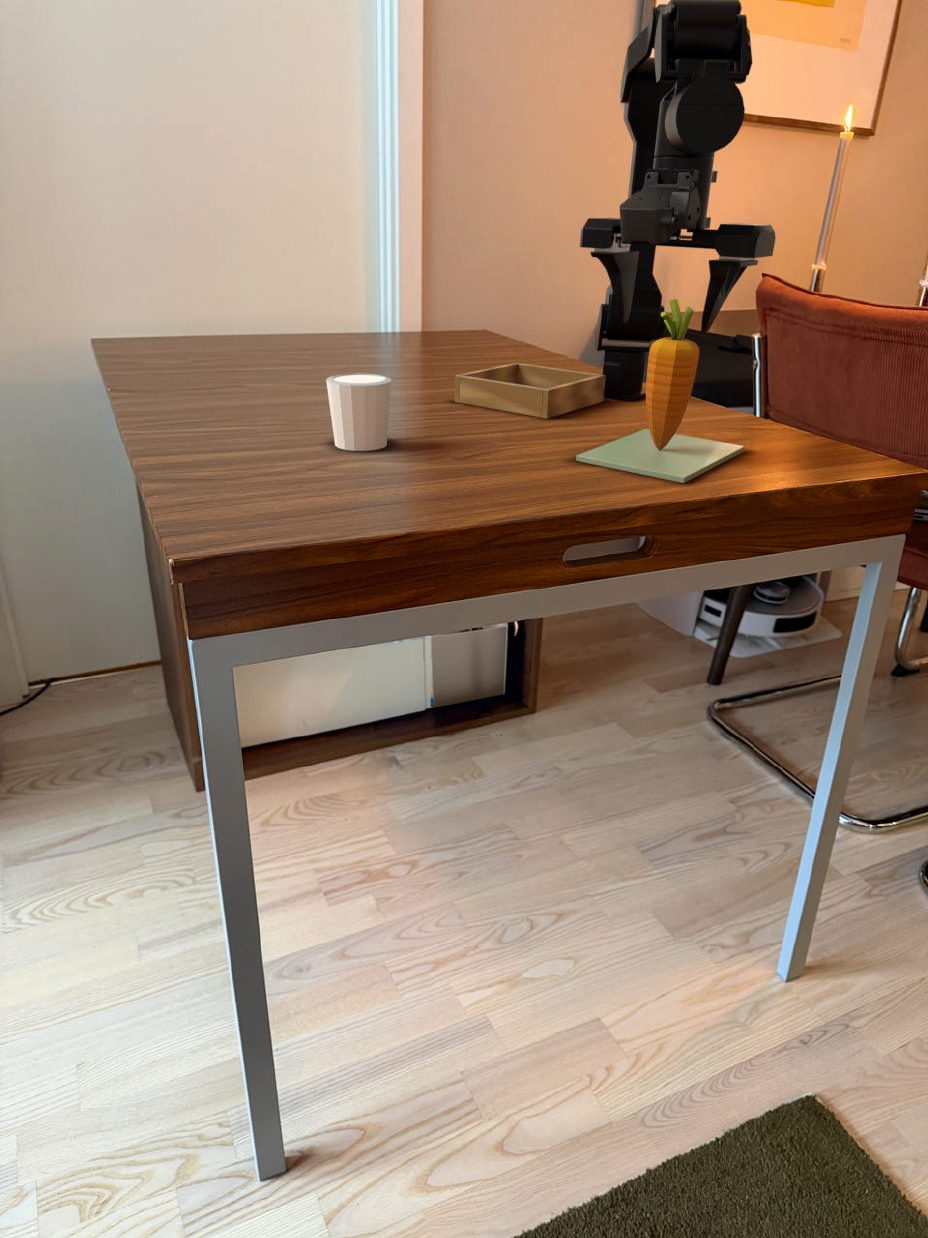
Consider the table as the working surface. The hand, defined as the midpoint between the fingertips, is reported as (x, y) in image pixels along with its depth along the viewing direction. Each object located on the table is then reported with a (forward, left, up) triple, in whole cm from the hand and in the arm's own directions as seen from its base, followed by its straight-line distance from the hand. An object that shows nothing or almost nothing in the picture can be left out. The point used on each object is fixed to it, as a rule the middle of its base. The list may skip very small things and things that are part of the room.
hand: (662, 327), depth 88 cm
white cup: (+21, -24, -13) cm, 34 cm away
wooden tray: (-11, -23, -13) cm, 28 cm away
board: (+3, +3, -13) cm, 13 cm away
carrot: (+3, +3, -12) cm, 13 cm away
